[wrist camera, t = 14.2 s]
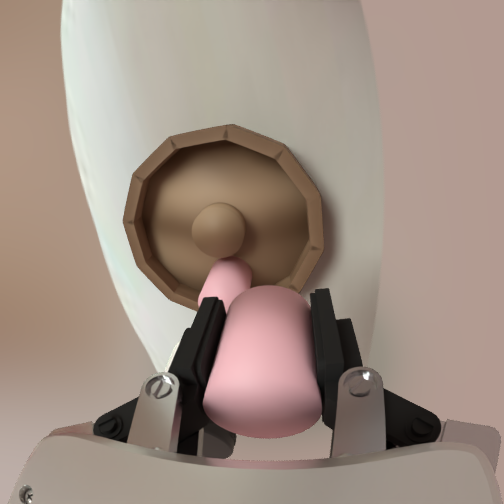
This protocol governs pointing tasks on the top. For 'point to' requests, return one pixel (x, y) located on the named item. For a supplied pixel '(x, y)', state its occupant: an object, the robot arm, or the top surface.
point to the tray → (222, 212)
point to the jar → (213, 433)
